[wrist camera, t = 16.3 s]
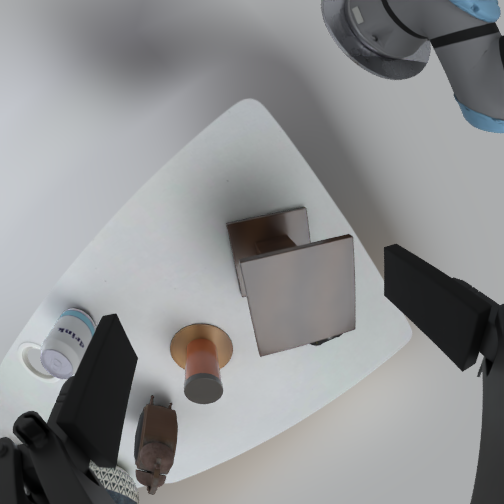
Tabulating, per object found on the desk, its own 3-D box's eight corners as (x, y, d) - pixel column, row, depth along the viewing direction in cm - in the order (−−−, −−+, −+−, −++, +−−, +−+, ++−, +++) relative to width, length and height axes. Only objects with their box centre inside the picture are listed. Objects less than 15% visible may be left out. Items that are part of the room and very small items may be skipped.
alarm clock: (144, 384, 51) (133, 469, 33) (180, 392, 53) (180, 478, 35) (135, 424, 55) (127, 499, 36) (166, 432, 57) (165, 506, 38)
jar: (213, 334, 49) (217, 374, 40) (221, 359, 51) (227, 400, 42) (180, 341, 49) (178, 381, 39) (190, 366, 51) (190, 406, 41)
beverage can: (103, 320, 46) (83, 365, 35) (88, 345, 47) (69, 389, 36) (71, 298, 43) (43, 337, 32) (57, 323, 44) (32, 364, 33)
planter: (90, 441, 56) (77, 509, 36) (154, 470, 62) (154, 534, 42) (69, 462, 58) (57, 518, 38) (125, 487, 65) (121, 541, 45)
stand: (304, 206, 45) (353, 236, 30) (312, 277, 49) (355, 329, 34) (226, 223, 44) (239, 262, 29) (241, 294, 48) (260, 356, 33)
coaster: (225, 317, 49) (225, 318, 49) (238, 365, 53) (238, 366, 53) (162, 330, 48) (161, 332, 48) (181, 376, 52) (181, 378, 52)
